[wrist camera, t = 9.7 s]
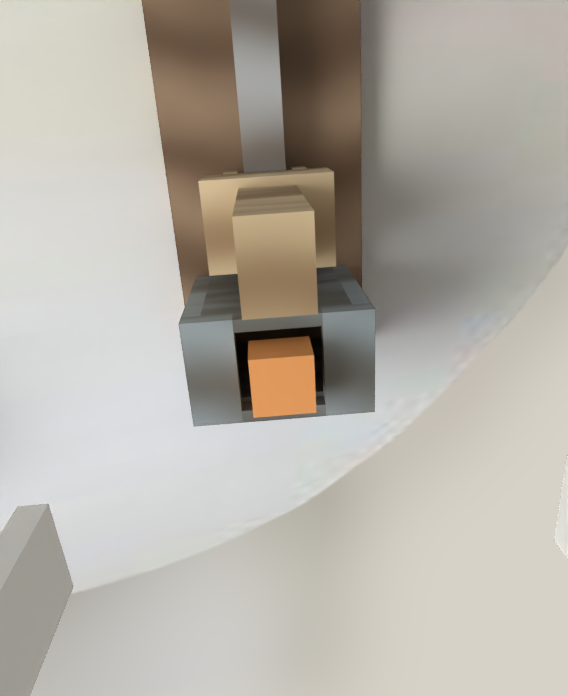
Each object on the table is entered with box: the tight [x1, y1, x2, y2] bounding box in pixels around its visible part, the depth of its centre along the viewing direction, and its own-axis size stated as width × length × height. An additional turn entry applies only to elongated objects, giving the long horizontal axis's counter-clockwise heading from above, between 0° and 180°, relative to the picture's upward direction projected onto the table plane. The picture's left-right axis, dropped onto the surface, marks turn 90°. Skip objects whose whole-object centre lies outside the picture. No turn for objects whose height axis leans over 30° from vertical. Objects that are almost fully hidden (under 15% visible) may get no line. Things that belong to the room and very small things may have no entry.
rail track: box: [142, 0, 375, 426], centre depth 29 cm, size 26×12×11 cm, turn 3°
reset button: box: [248, 336, 316, 418], centre depth 28 cm, size 3×3×2 cm
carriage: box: [198, 166, 336, 320], centre depth 27 cm, size 5×7×14 cm
